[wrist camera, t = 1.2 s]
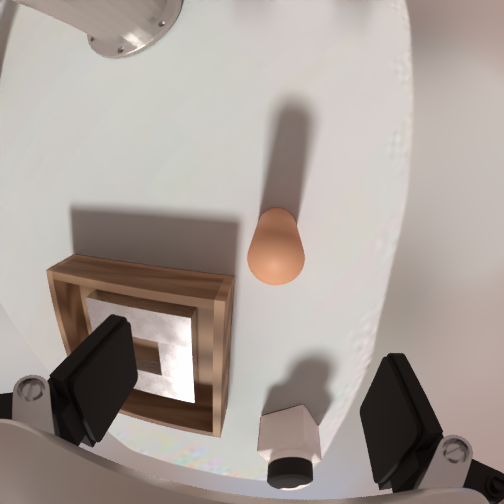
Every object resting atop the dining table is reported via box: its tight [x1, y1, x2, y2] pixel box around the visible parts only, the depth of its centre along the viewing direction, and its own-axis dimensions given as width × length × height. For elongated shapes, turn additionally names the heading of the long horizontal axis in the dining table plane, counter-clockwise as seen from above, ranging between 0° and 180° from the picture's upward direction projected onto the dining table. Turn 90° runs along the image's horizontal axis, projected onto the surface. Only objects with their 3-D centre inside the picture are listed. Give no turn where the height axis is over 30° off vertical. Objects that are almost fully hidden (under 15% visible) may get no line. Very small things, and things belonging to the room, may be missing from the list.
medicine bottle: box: [257, 405, 321, 490], centre depth 33 cm, size 7×7×12 cm
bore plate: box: [86, 289, 199, 403], centre depth 34 cm, size 14×14×2 cm
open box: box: [46, 254, 235, 437], centre depth 33 cm, size 22×22×6 cm
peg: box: [247, 208, 305, 285], centre depth 25 cm, size 4×4×10 cm
